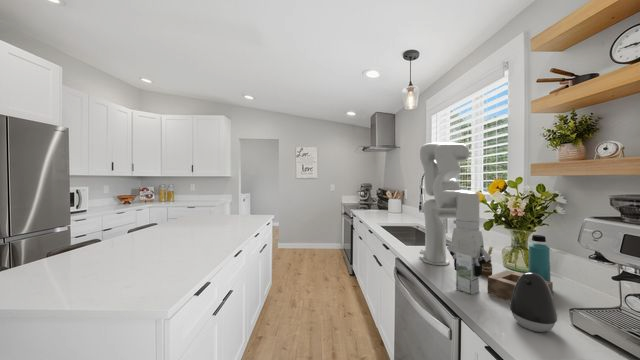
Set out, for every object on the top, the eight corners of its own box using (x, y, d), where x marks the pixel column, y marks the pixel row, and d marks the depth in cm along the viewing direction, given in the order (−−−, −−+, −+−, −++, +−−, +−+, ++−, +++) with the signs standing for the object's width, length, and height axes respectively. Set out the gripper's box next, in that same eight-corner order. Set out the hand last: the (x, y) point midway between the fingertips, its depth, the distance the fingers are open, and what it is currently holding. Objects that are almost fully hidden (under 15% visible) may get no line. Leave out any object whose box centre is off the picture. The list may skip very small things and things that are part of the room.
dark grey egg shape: (503, 324, 74) (503, 271, 74) (517, 313, 80) (517, 264, 80) (550, 342, 66) (550, 282, 66) (561, 329, 72) (561, 274, 72)
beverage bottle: (554, 291, 96) (554, 237, 96) (534, 289, 97) (534, 236, 97) (543, 284, 102) (543, 234, 102) (524, 283, 104) (524, 233, 104)
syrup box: (479, 291, 96) (479, 252, 96) (471, 295, 93) (471, 254, 93) (464, 286, 101) (464, 248, 101) (455, 289, 97) (455, 251, 98)
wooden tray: (487, 293, 94) (487, 276, 94) (506, 285, 101) (506, 270, 101) (534, 309, 82) (534, 291, 82) (552, 299, 89) (552, 282, 89)
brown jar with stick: (473, 272, 116) (473, 245, 116) (486, 271, 116) (486, 245, 116) (481, 277, 110) (481, 248, 110) (496, 276, 111) (496, 248, 111)
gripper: (440, 222, 102) (440, 267, 102) (486, 229, 87) (486, 282, 87) (451, 221, 106) (451, 264, 106) (498, 227, 91) (498, 278, 91)
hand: (467, 272), depth 97 cm, fingers open, 6 cm apart
